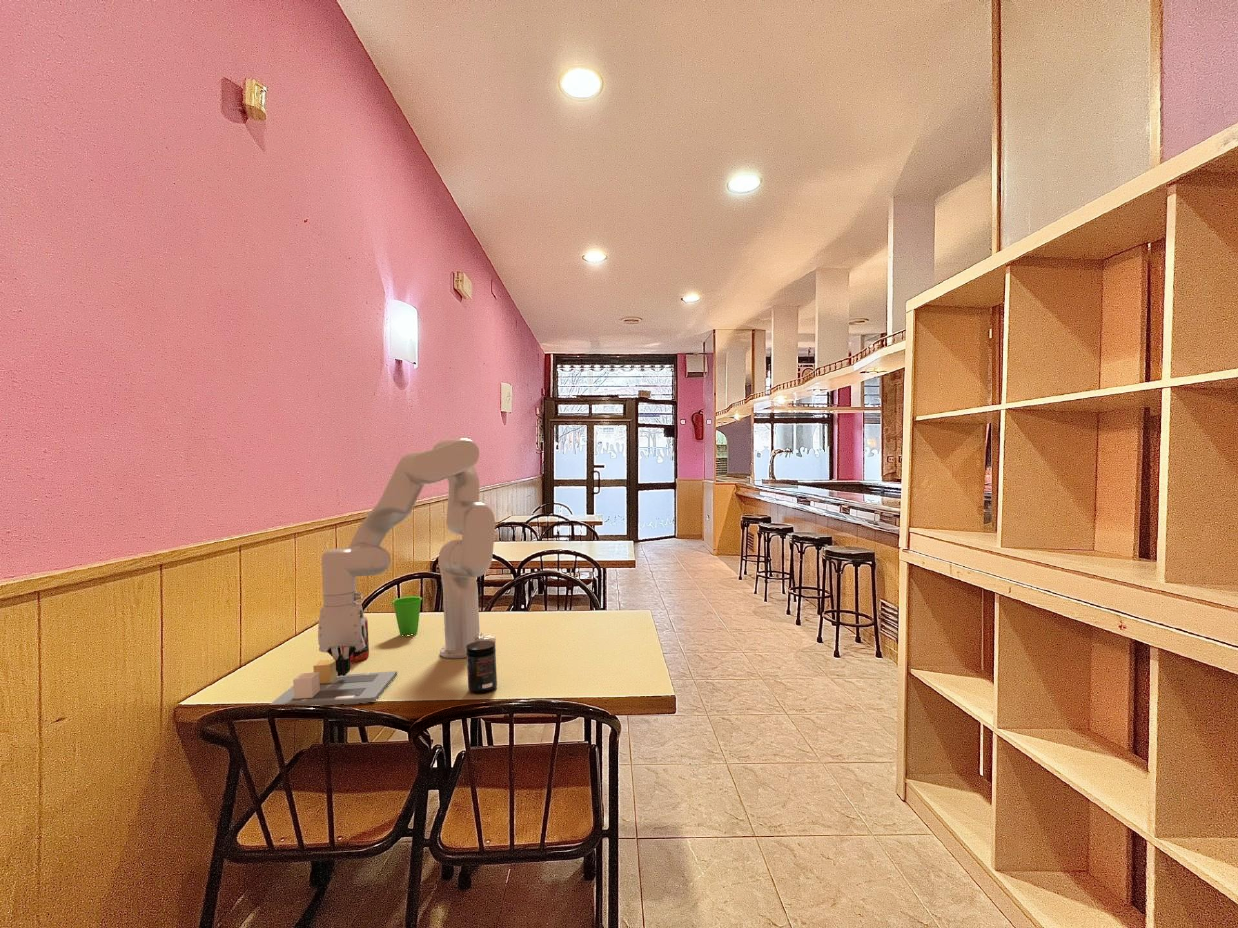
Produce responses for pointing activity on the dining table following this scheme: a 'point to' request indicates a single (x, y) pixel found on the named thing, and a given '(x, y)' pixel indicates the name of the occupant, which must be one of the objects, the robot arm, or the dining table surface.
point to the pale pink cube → (306, 685)
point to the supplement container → (481, 667)
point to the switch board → (344, 690)
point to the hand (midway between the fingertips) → (343, 673)
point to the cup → (407, 614)
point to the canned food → (362, 653)
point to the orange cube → (326, 671)
